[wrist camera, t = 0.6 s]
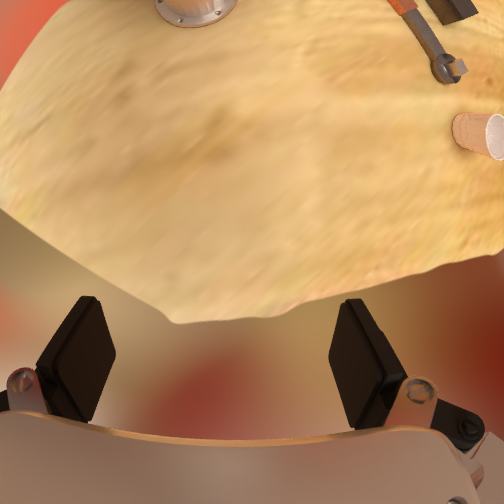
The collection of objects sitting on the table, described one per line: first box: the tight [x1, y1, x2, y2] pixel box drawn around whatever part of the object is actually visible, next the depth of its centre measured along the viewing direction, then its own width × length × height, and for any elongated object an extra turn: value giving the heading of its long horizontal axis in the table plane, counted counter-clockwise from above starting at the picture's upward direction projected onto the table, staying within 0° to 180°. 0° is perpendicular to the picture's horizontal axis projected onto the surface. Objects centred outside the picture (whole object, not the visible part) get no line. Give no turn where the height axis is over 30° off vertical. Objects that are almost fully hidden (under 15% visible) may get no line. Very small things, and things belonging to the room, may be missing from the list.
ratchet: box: [388, 0, 468, 84], centre depth 30 cm, size 23×6×6 cm, turn 38°
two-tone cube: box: [426, 0, 479, 25], centre depth 26 cm, size 6×6×6 cm
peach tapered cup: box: [452, 113, 504, 161], centre depth 35 cm, size 8×8×10 cm
